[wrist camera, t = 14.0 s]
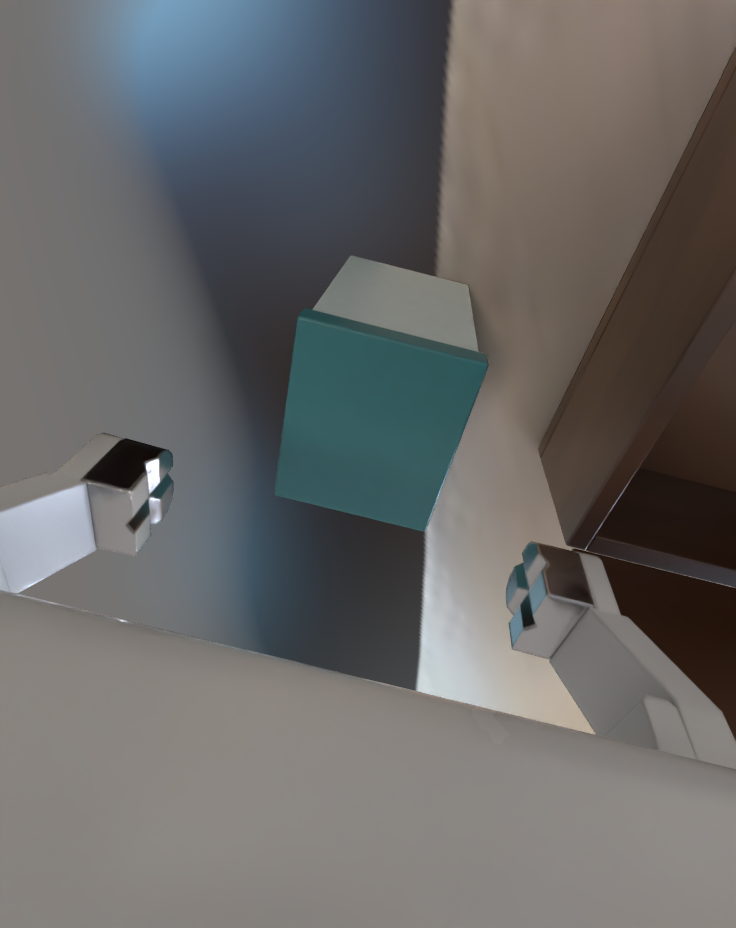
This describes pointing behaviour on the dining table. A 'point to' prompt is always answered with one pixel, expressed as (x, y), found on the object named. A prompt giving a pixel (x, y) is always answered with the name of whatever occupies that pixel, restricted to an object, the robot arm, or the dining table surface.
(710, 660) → the lid
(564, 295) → the dining table surface
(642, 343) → the chest
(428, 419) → the white teal-lidded container
